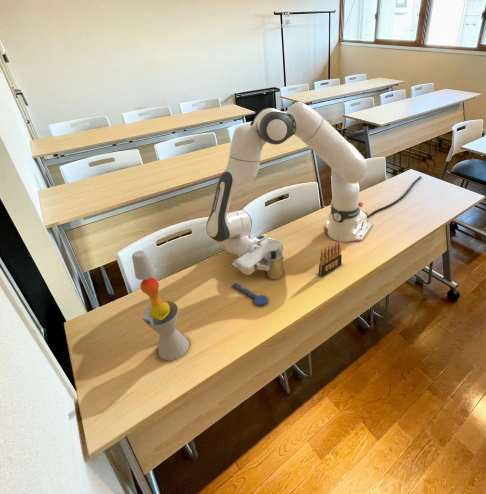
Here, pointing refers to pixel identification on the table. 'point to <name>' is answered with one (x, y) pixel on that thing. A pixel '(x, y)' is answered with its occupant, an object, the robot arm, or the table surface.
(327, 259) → the ammunition clip
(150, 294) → the lava lamp
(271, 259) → the pot
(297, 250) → the table surface
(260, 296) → the spoon
